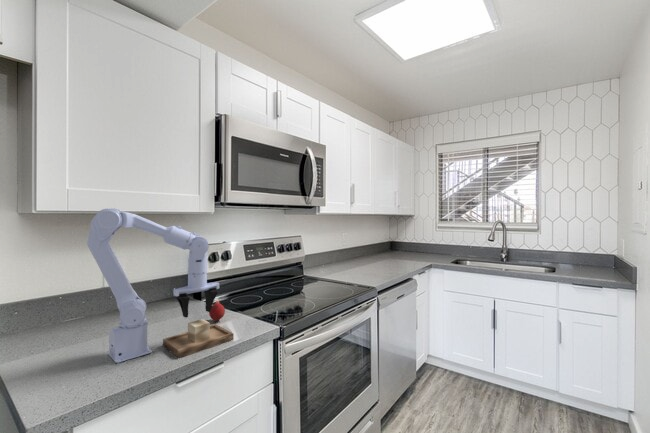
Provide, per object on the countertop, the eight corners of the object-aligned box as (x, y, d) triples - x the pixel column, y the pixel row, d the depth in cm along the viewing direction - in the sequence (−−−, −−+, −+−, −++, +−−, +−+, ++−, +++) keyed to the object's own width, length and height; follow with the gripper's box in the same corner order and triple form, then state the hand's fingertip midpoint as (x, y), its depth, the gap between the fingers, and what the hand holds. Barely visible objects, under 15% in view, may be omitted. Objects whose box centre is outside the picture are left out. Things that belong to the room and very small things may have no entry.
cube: (194, 342, 98) (195, 326, 98) (187, 338, 101) (187, 322, 101) (209, 337, 101) (209, 322, 101) (202, 333, 105) (202, 319, 105)
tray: (178, 358, 90) (179, 350, 90) (162, 345, 98) (162, 338, 98) (233, 339, 104) (233, 333, 104) (215, 330, 112) (215, 324, 112)
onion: (219, 324, 117) (219, 303, 117) (206, 323, 119) (206, 302, 119) (227, 319, 123) (227, 299, 123) (214, 318, 124) (214, 298, 124)
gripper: (212, 268, 109) (211, 306, 109) (169, 273, 99) (169, 316, 99) (222, 271, 105) (222, 311, 105) (178, 277, 94) (178, 321, 94)
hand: (197, 313), depth 101 cm, fingers open, 7 cm apart
